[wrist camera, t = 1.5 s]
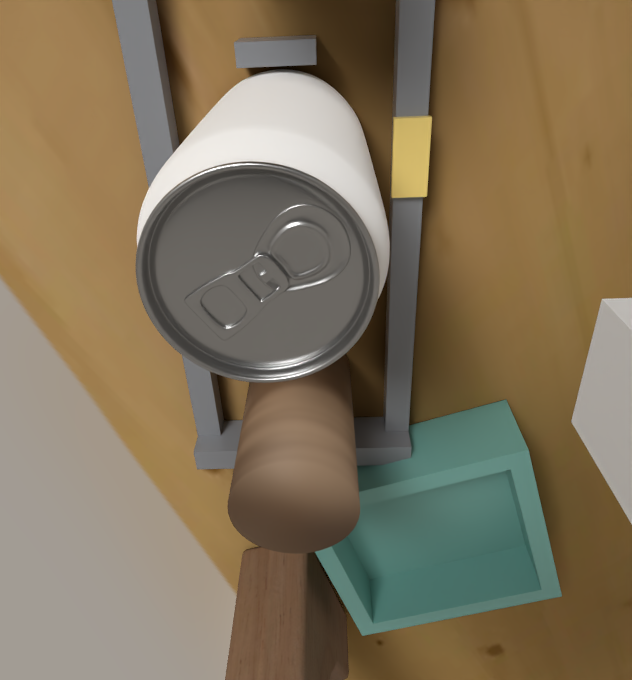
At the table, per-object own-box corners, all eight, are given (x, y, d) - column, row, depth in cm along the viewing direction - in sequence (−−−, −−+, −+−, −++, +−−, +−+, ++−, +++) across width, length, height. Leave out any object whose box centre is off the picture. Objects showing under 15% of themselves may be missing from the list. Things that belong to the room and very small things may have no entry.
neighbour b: (266, 319, 27) (245, 448, 20) (364, 346, 28) (380, 480, 21) (242, 397, 30) (214, 538, 22) (332, 420, 31) (335, 564, 23)
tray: (293, 456, 32) (290, 509, 29) (506, 399, 30) (528, 449, 27) (358, 580, 38) (362, 635, 35) (540, 541, 36) (562, 596, 33)
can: (395, 169, 24) (451, 309, 13) (275, 256, 26) (244, 434, 15) (299, 27, 21) (277, 68, 11) (173, 138, 23) (55, 260, 13)
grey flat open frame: (44, -414, 15) (2, -475, 13) (458, -441, 15) (480, -509, 13) (205, 437, 31) (197, 469, 29) (406, 433, 31) (412, 464, 29)
